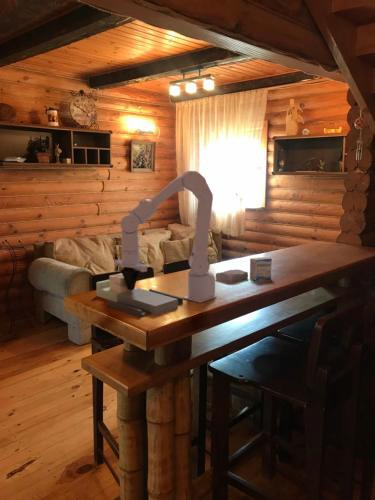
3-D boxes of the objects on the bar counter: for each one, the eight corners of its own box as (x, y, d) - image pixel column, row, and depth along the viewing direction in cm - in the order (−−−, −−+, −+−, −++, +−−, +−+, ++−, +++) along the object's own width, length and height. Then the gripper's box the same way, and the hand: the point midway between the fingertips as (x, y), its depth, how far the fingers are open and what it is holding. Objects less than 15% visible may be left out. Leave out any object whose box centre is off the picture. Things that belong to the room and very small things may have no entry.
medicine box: (255, 280, 176) (256, 260, 174) (249, 278, 180) (249, 258, 178) (271, 278, 179) (272, 258, 177) (265, 276, 183) (265, 256, 181)
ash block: (123, 286, 155) (122, 272, 154) (134, 289, 151) (133, 275, 150) (109, 289, 151) (109, 275, 150) (120, 292, 147) (120, 278, 146)
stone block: (213, 284, 177) (232, 284, 170) (212, 273, 177) (230, 272, 170) (231, 280, 186) (250, 279, 178) (230, 269, 185) (249, 268, 178)
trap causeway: (128, 288, 164) (128, 275, 163) (187, 304, 144) (187, 290, 143) (86, 298, 150) (85, 284, 150) (144, 318, 130) (144, 303, 129)
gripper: (107, 249, 147) (108, 287, 150) (135, 254, 138) (135, 295, 140) (123, 246, 153) (124, 283, 155) (151, 251, 143) (151, 291, 145)
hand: (131, 289), depth 148 cm, fingers closed
